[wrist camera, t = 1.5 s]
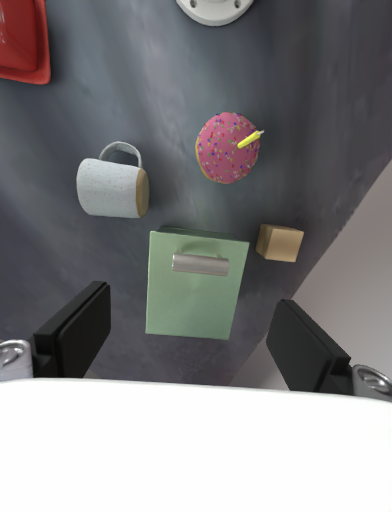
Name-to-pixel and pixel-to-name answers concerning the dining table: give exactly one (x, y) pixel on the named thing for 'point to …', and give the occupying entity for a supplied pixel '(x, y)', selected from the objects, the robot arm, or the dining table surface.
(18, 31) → the butter dish
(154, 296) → the lid
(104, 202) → the ceramic mug
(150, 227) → the dining table surface
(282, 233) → the block
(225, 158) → the cupcake
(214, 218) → the dining table surface
